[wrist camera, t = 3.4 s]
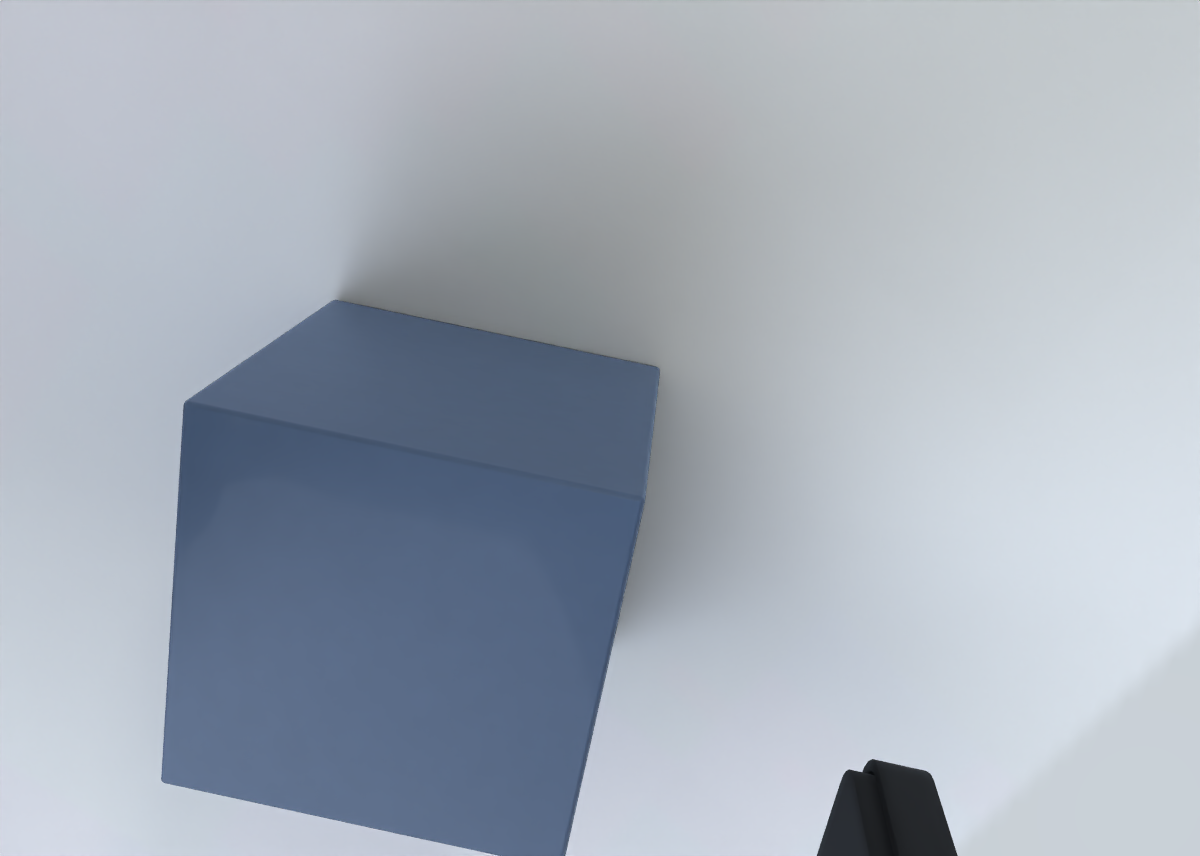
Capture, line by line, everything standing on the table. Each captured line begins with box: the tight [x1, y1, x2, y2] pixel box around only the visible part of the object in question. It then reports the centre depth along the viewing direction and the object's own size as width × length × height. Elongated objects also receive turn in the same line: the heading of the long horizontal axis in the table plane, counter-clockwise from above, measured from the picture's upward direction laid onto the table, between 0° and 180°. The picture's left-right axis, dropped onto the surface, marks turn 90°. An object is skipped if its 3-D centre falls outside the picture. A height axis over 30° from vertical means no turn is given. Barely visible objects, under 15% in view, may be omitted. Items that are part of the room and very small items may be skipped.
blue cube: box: [161, 300, 660, 856], centre depth 14 cm, size 5×5×5 cm
